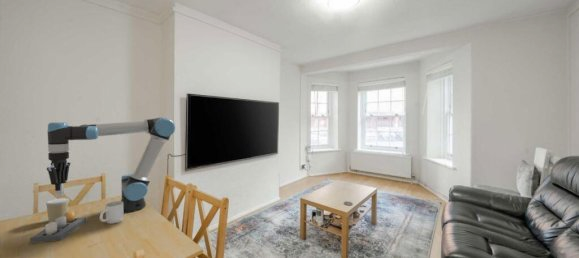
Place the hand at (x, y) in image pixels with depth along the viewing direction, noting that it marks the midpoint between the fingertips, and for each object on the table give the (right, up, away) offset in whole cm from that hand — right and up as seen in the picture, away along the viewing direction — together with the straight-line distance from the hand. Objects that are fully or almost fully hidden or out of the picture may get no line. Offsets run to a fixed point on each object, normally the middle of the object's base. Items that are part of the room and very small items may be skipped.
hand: (59, 195), depth 119 cm
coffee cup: (-14, -18, +12) cm, 26 cm away
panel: (-1, -19, +1) cm, 19 cm away
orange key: (-2, -17, +7) cm, 18 cm away
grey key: (-1, -17, +1) cm, 17 cm away
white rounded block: (+1, -18, -5) cm, 18 cm away
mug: (+17, -19, +13) cm, 29 cm away
